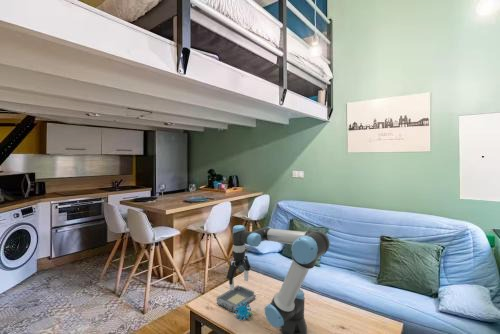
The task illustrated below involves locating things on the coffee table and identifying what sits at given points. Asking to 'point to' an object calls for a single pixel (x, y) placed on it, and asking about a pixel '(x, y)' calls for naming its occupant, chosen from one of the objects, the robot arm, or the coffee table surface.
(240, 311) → the gear
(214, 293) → the coffee table surface
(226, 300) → the gray metal tray
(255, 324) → the coffee table surface
